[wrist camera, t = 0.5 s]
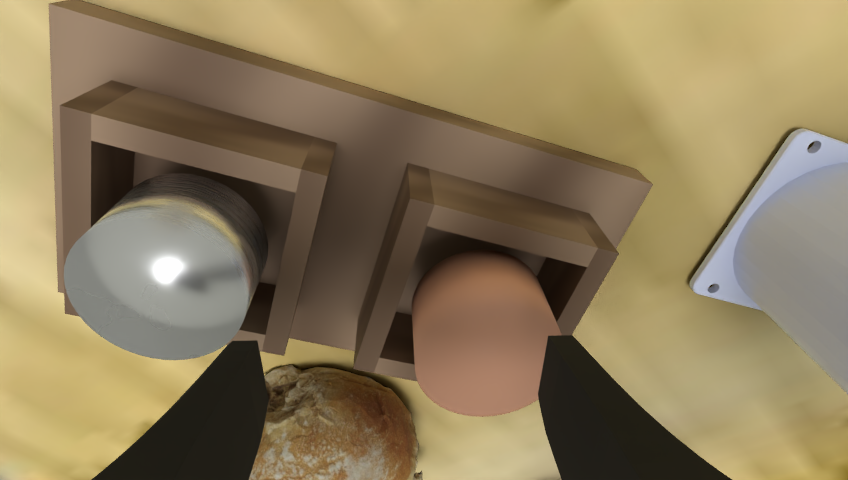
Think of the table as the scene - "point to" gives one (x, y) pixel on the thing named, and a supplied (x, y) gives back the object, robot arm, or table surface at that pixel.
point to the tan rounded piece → (481, 333)
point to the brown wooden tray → (323, 180)
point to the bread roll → (334, 429)
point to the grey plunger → (169, 267)
